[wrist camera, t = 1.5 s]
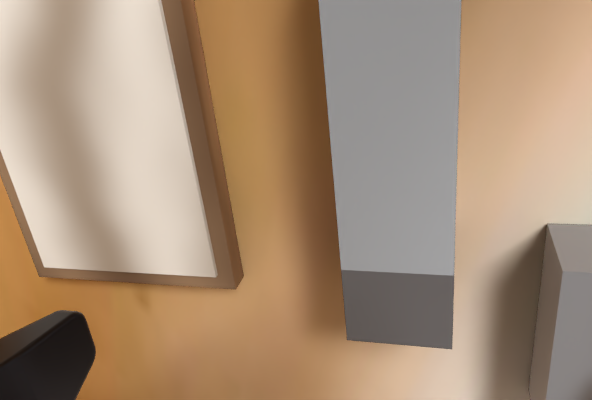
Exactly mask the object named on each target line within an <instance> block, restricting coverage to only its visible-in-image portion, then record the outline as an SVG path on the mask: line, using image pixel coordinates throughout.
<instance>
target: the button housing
mask: <svg viewBox="0 0 592 400" xmlns="http://www.w3.org/2000/svg"><path fill="white" fill-rule="evenodd" d="M529 395H530V400H592V225H577V224H547V231H546V240H545V249H544V258H543V267H542V275H541V284H540V293H539V302H538V311H537V320H536V329H535V338H534V346H533V355H532V364H531V373H530V382H529Z"/></svg>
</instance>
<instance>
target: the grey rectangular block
mask: <svg viewBox="0 0 592 400" xmlns="http://www.w3.org/2000/svg"><path fill="white" fill-rule="evenodd" d="M318 1H319V13H320V25H321V36H322V48H323V60H324V72H325V84H326V96H327V107H328V119H329V131H330V143H331V155H332V167H333V179H334V190H335V202H336V214H337V226H338V238H339V250H340V261H341V273H342V285H343V297H344V309H345V321H346V332H347V340H352V341H364V342H375V343H387V344H398V345H409V346H421V347H432V348H444V349H452V335H453V297H454V258H455V220H456V182H457V144H458V106H459V67H460V29H461V0H318Z"/></svg>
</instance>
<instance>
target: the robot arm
mask: <svg viewBox="0 0 592 400" xmlns="http://www.w3.org/2000/svg"><path fill="white" fill-rule="evenodd" d="M95 353H96V350H95V345H94V342H93V339H92V336H91V333H90V330H89V327H88V324H87V321H86V319H85V317H84V315H83V314H82V313H80V312H77V311H66V310H60V311H56V312H54V313H52V314H50V315H48V316H46V317H44V318H42V319H40V320H37V321H35V322H33V323H31V324H29V325H27V326H25V327H23V328H21V329H19V330H17V331H15V332H13V333H11V334H9V335H7V336H5V337H3V338H1V339H0V400H75V399H76V397H77V395H78V393H79V391H80V389H81V387H82V385H83V383H84V381H85V379H86V377H87V375H88V372H89V370H90V368H91V366H92V364H93V362H94V359H95Z"/></svg>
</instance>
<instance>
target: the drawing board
mask: <svg viewBox="0 0 592 400" xmlns="http://www.w3.org/2000/svg"><path fill="white" fill-rule="evenodd" d="M0 175H1V178H2V181H3V183H4V186H5V189H6V191H7V194H8V196H9V199H10V202H11V204H12V207H13V209H14V212H15V215H16V217H17V220H18V223H19V225H20V228H21V230H22V233H23V236H24V238H25V241H26V243H27V246H28V249H29V251H30V254H31V257H32V259H33V262H34V264H35V267H36V270H37V272H38V275H39V277H51V278H67V279H82V280H98V281H113V282H129V283H144V284H160V285H176V286H191V287H207V288H222V289H236V288H237V287H238V285H239V283H240V281H241V280H242V278H243V276H244V275H243V270H242V264H241V259H240V253H239V248H238V242H237V237H236V231H235V225H234V220H233V214H232V209H231V203H230V198H229V192H228V187H227V181H226V176H225V170H224V165H223V159H222V154H221V148H220V142H219V137H218V131H217V126H216V120H215V115H214V109H213V104H212V98H211V93H210V87H209V82H208V76H207V71H206V65H205V60H204V54H203V48H202V43H201V37H200V32H199V26H198V21H197V15H196V10H195V4H194V0H0Z"/></svg>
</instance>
